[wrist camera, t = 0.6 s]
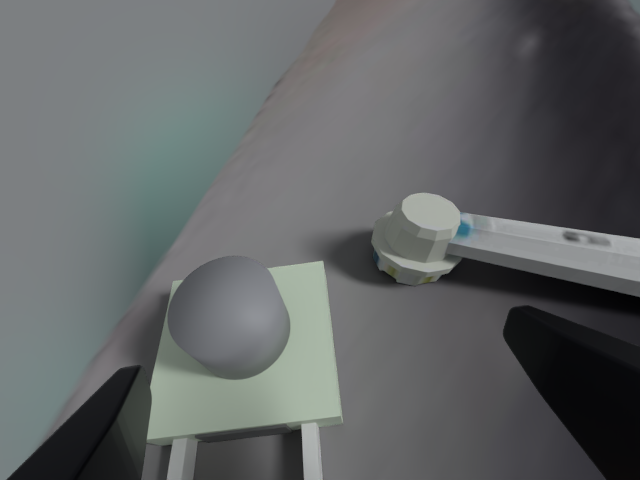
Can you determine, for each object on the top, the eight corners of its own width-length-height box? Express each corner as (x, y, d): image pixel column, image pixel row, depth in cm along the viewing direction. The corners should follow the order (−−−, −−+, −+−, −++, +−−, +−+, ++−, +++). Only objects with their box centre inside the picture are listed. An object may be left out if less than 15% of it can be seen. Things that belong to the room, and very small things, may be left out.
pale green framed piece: (370, 658, 14) (372, 752, 9) (118, 682, 14) (-20, 787, 9) (326, 278, 26) (316, 224, 20) (187, 297, 26) (143, 249, 21)
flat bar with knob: (896, 328, 16) (377, 221, 19) (746, 366, 21) (362, 278, 25) (826, 242, 19) (389, 162, 22) (711, 294, 24) (373, 224, 28)
